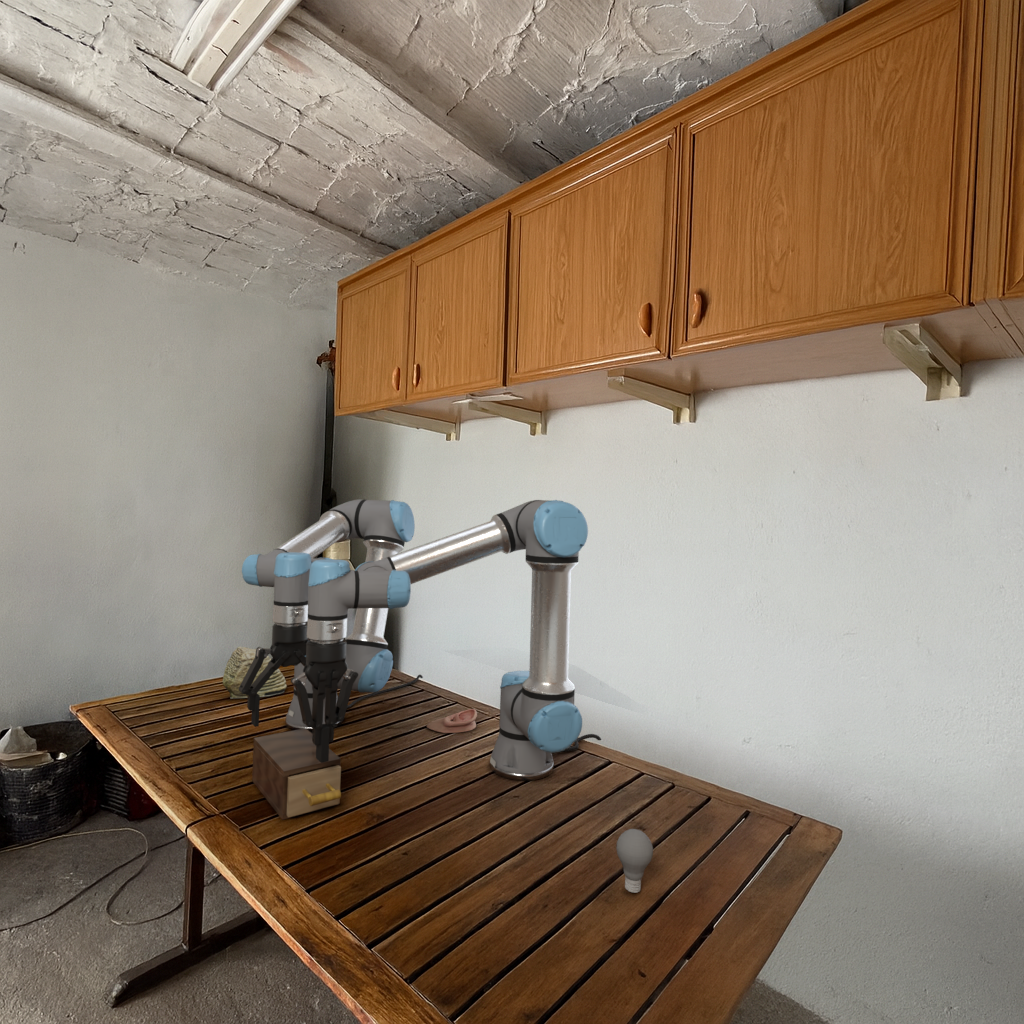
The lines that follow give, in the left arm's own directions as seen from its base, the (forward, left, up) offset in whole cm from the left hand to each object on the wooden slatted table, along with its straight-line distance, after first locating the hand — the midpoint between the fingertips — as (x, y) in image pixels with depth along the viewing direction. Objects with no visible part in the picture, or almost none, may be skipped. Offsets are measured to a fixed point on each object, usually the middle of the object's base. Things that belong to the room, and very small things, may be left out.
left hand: (286, 719), depth 140 cm
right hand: (+5, +20, -2) cm, 20 cm away
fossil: (-27, -60, -14) cm, 67 cm away
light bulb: (-17, +76, -14) cm, 80 cm away
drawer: (+2, +11, -13) cm, 17 cm away
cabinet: (+1, +6, -14) cm, 15 cm away
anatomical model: (-51, +2, -14) cm, 53 cm away
